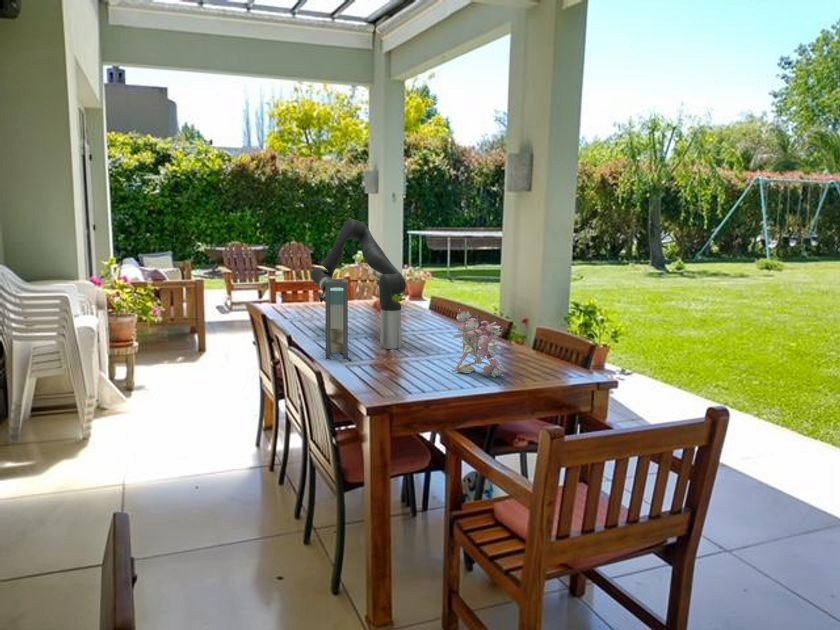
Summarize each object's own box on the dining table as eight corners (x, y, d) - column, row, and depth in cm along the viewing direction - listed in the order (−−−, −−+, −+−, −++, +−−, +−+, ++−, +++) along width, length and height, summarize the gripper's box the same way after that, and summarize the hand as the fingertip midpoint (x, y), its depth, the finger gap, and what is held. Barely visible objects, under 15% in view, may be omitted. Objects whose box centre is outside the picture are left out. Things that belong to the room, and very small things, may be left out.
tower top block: (346, 323, 293) (346, 300, 291) (346, 328, 281) (346, 304, 279) (328, 323, 292) (328, 300, 290) (327, 328, 280) (327, 304, 278)
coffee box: (465, 348, 294) (466, 313, 292) (479, 349, 293) (480, 314, 290) (462, 353, 285) (463, 316, 283) (476, 353, 284) (478, 317, 281)
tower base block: (346, 346, 294) (346, 323, 293) (346, 352, 282) (346, 328, 281) (328, 346, 293) (328, 323, 292) (327, 352, 281) (327, 328, 280)
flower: (455, 380, 232) (487, 318, 230) (429, 360, 252) (459, 303, 250) (497, 398, 241) (528, 338, 240) (469, 378, 261) (498, 323, 260)
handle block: (344, 298, 299) (344, 285, 298) (345, 304, 279) (345, 290, 278) (329, 298, 299) (329, 285, 298) (328, 304, 278) (328, 290, 277)
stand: (347, 353, 280) (347, 279, 275) (347, 359, 269) (347, 282, 264) (326, 353, 279) (326, 279, 274) (325, 359, 268) (325, 282, 263)
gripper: (312, 285, 312) (319, 296, 298) (339, 274, 315) (347, 284, 300) (317, 298, 315) (324, 310, 301) (344, 287, 318) (352, 299, 304)
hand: (336, 297), depth 301 cm, fingers open, 8 cm apart
